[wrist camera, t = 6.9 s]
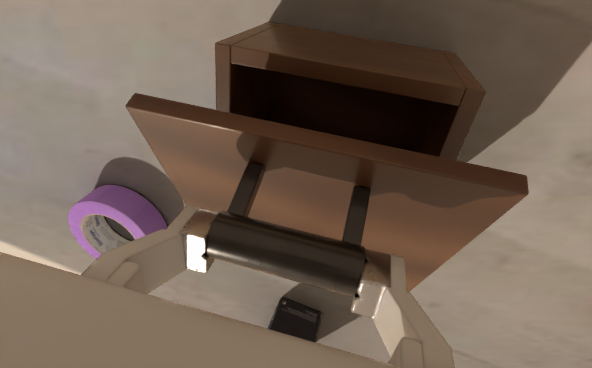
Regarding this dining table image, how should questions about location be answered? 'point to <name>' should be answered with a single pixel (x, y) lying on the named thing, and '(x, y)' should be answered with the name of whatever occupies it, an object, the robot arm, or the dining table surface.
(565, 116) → the dining table surface
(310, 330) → the small box
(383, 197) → the lid
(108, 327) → the robot arm
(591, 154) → the dining table surface
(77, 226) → the tape roll
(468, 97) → the chest
